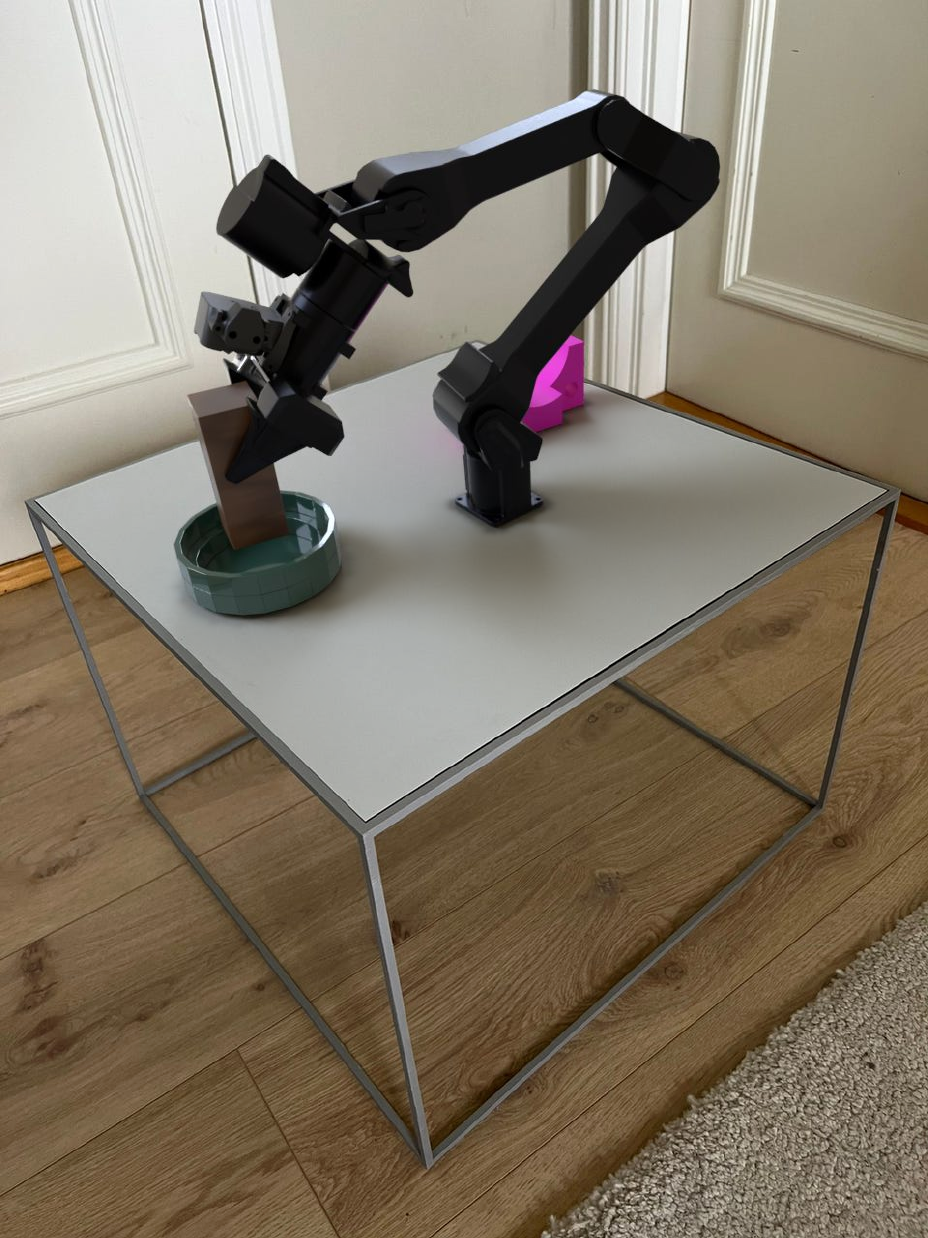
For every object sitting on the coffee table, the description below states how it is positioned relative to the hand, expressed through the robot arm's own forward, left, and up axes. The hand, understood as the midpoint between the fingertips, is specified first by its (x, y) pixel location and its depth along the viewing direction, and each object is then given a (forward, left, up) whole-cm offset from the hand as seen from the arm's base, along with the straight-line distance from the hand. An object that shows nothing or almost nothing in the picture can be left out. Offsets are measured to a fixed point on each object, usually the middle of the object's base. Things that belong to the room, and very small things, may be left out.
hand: (223, 467), depth 79 cm
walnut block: (0, -1, -7) cm, 7 cm away
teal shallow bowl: (0, -1, -11) cm, 11 cm away
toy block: (+6, -38, -11) cm, 40 cm away
